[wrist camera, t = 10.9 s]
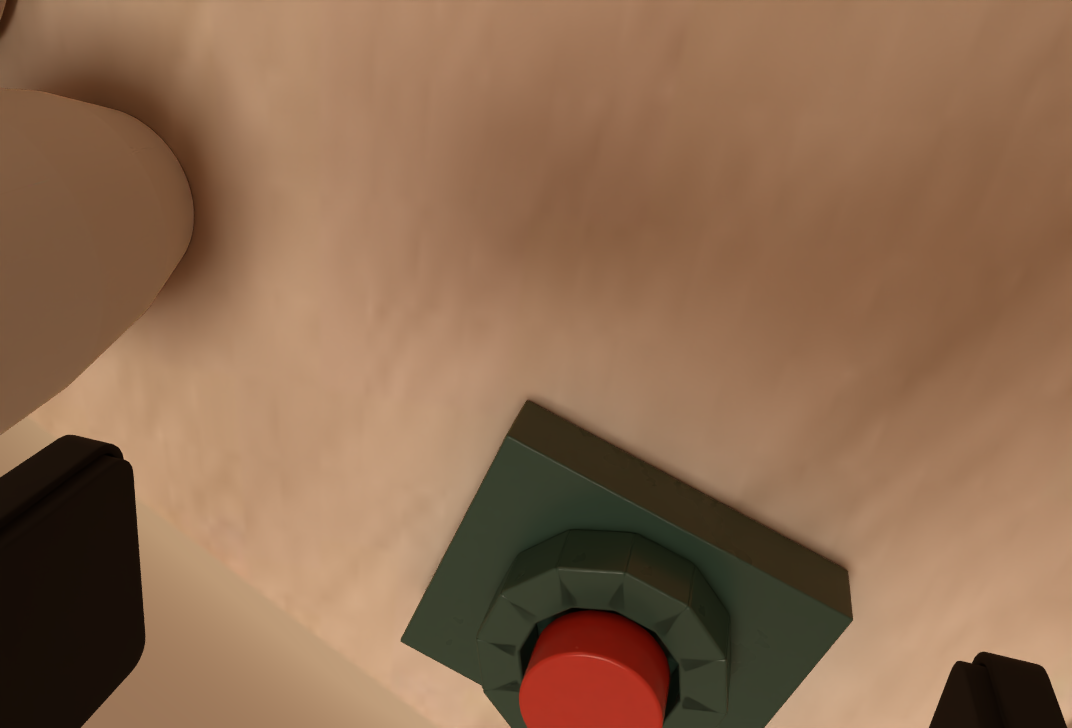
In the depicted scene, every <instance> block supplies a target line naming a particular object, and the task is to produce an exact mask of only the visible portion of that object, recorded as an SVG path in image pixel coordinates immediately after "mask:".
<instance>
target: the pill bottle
mask: <svg viewBox="0 0 1072 728" xmlns="http://www.w3.org/2000/svg"><path fill="white" fill-rule="evenodd" d="M5 3H6V0H0V20H1V17H2V14H3V11H4V8H5Z"/></svg>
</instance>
